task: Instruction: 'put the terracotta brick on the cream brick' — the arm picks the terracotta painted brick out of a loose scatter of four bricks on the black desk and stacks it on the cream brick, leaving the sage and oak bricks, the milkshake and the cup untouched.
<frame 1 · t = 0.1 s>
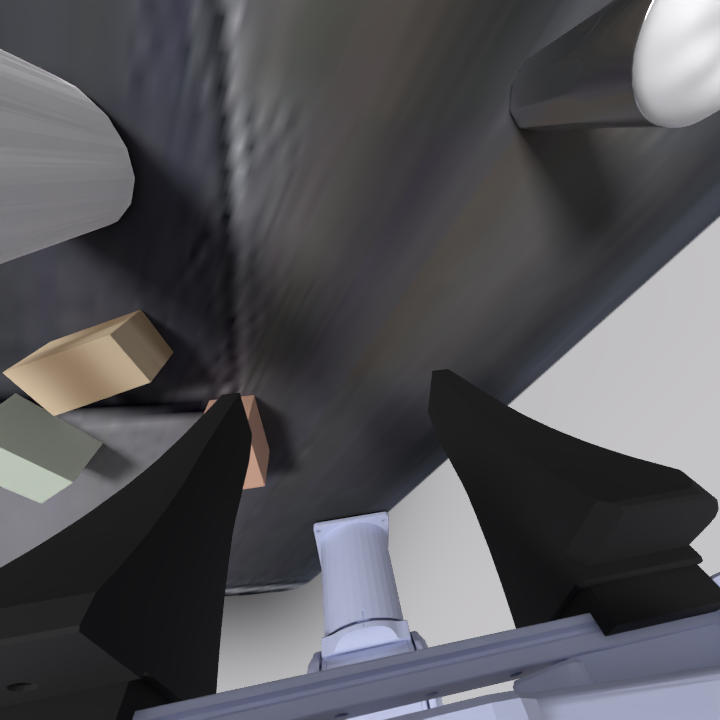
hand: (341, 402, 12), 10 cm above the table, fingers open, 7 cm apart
cup: (65, 157, 14), on the table
oak brick: (115, 346, 19), on the table
sage brick: (48, 429, 22), on the table
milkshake: (542, 95, 16), on the table
terracotta brick: (242, 426, 24), on the table
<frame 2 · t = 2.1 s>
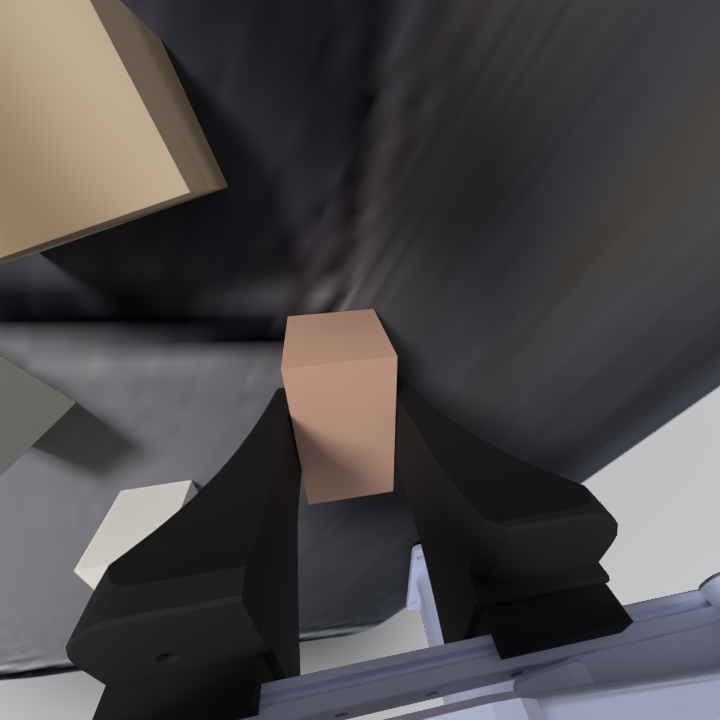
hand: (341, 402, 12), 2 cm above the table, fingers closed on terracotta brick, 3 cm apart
cream brick: (180, 518, 16), on the table
oak brick: (95, 158, 8), on the table
terracotta brick: (337, 378, 13), on the table, touching gripper
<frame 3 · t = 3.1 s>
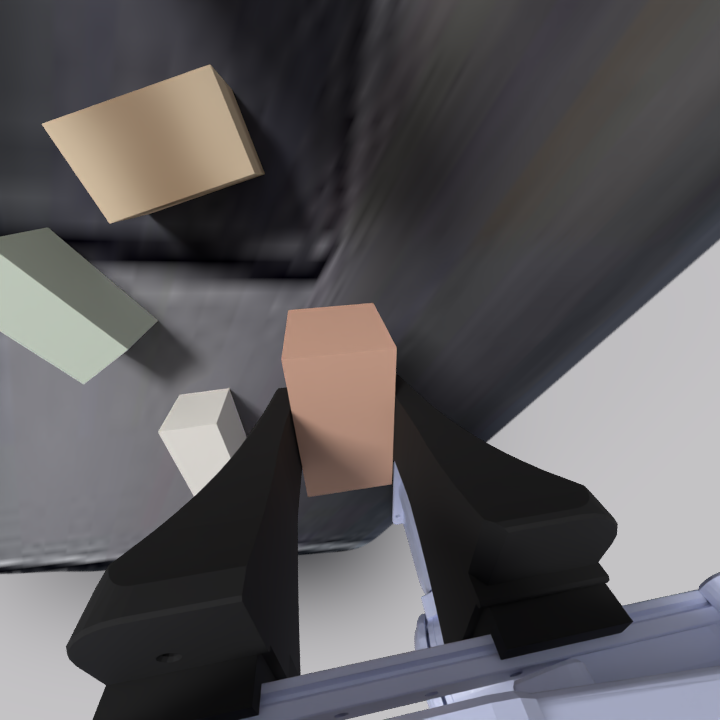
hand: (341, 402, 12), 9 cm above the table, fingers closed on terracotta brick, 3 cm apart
cream brick: (218, 423, 22), on the table
oak brick: (188, 156, 14), on the table
sage brick: (89, 294, 16), on the table
terracotta brick: (337, 372, 13), point 7 cm above the table, touching gripper
when the fingers open (6 cm above the table, at t = 4.5 s): terracotta brick stays where it is, resting on cream brick.
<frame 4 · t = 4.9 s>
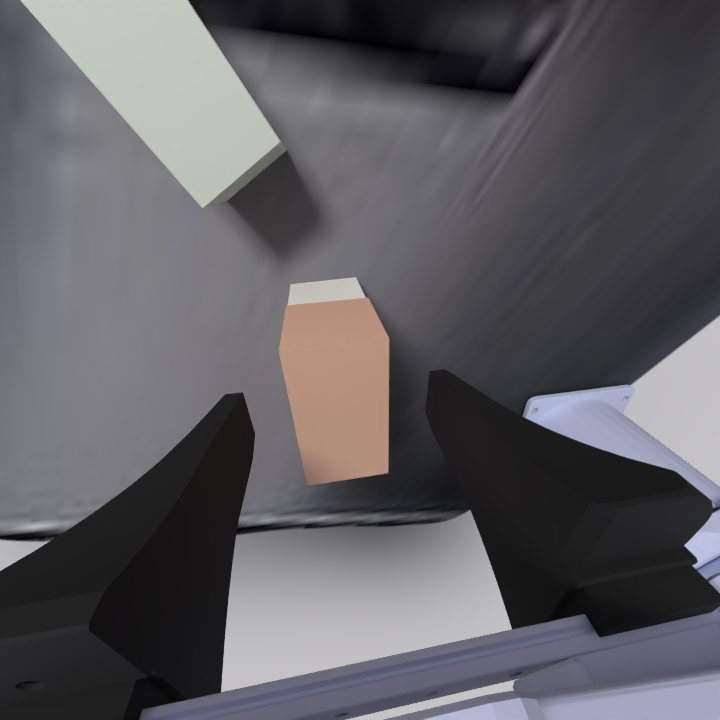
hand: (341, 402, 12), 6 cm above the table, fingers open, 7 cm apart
cream brick: (330, 334, 17), on the table, touching terracotta brick
sage brick: (197, 95, 11), on the table
terracotta brick: (334, 366, 13), point 3 cm above the table, touching cream brick
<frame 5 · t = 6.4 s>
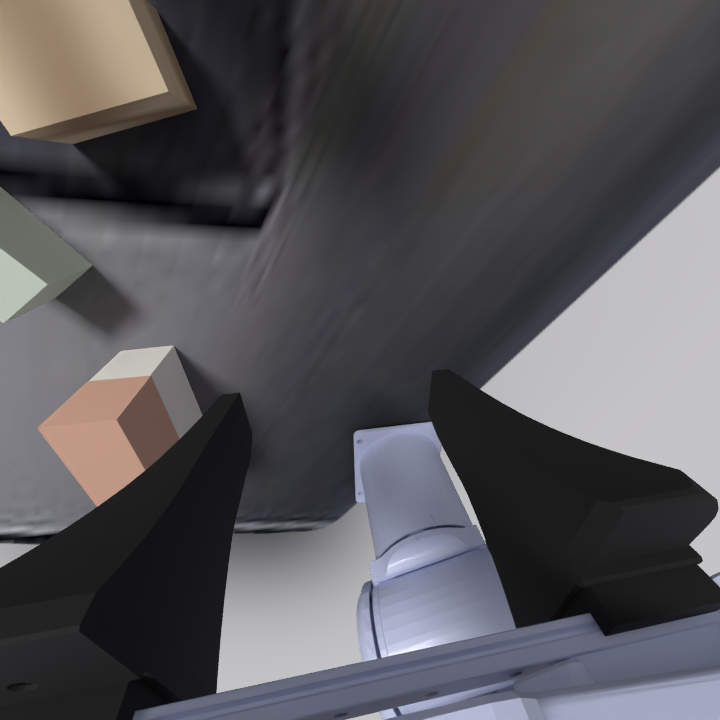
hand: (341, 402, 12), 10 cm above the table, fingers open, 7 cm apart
cream brick: (165, 385, 21), on the table, touching terracotta brick
oak brick: (113, 82, 13), on the table
sage brick: (16, 234, 16), on the table
terracotta brick: (141, 419, 18), point 4 cm above the table, touching cream brick
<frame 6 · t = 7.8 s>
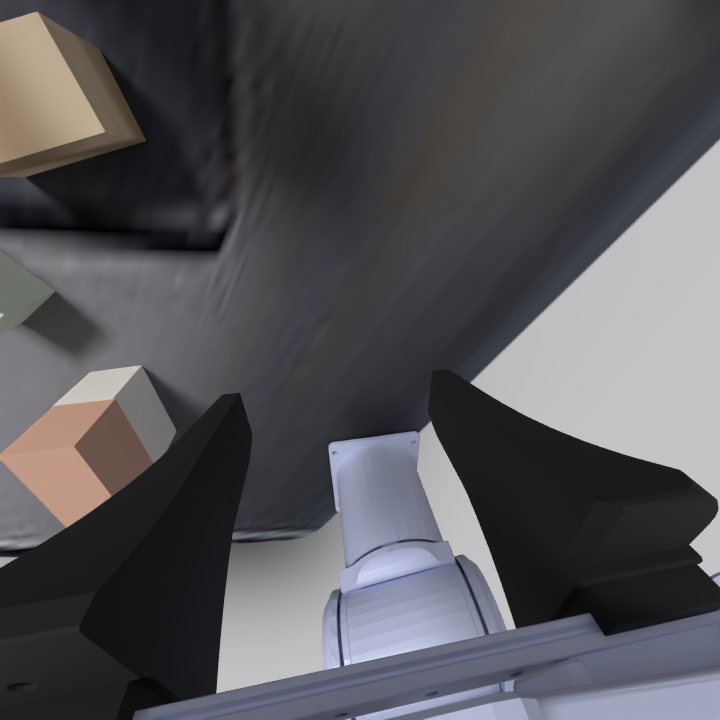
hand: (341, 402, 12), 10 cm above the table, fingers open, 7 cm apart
cream brick: (137, 403, 22), on the table, touching terracotta brick
oak brick: (62, 117, 14), on the table
terracotta brick: (110, 440, 19), point 3 cm above the table, touching cream brick
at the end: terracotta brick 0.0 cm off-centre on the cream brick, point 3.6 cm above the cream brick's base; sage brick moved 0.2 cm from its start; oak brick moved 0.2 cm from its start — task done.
